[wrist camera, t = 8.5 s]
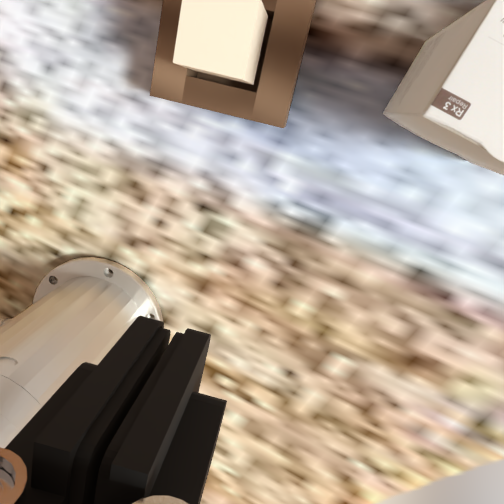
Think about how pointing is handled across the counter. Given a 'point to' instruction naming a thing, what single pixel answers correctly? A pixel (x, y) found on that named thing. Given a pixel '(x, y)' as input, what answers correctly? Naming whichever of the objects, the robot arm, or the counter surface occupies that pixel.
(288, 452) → the counter surface
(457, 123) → the skincare box
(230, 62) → the cream key
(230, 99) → the brown slotted tray
